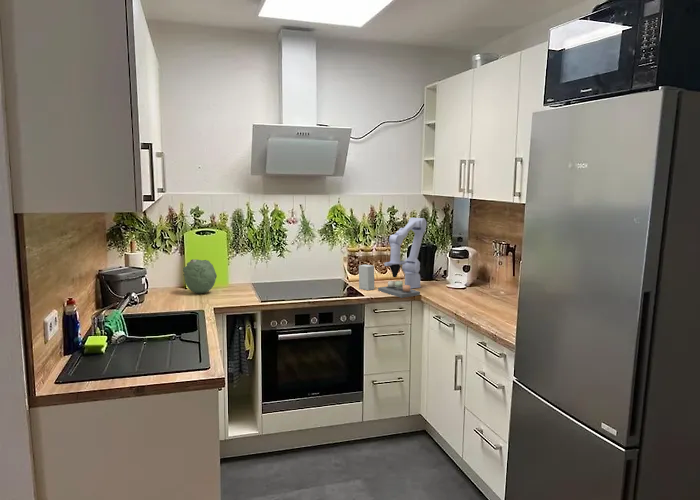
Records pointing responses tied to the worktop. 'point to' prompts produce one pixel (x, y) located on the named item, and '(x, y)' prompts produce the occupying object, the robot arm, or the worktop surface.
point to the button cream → (391, 283)
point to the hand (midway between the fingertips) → (394, 277)
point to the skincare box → (366, 277)
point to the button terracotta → (406, 288)
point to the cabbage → (199, 276)
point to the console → (398, 291)
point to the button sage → (398, 284)
